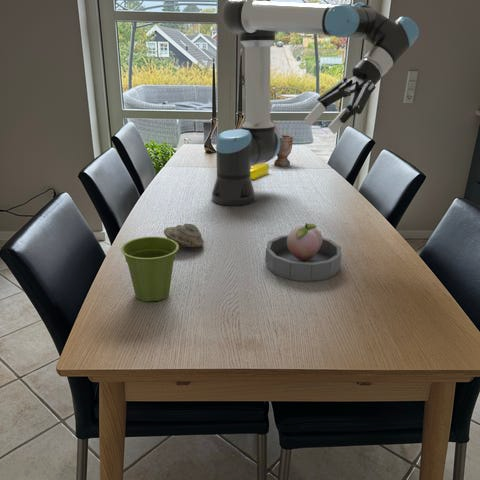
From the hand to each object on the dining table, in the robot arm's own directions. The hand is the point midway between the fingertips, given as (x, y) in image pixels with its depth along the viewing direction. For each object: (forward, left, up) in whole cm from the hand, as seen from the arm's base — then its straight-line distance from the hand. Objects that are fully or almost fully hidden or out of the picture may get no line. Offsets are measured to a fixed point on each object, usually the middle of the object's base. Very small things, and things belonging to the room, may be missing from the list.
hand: (318, 126), depth 129 cm
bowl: (-1, -27, -30) cm, 40 cm away
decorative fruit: (-1, -27, -29) cm, 40 cm away
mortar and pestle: (-18, +76, -30) cm, 84 cm away
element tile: (-30, +57, -30) cm, 71 cm away
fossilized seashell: (-33, -24, -30) cm, 51 cm away
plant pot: (-32, -49, -30) cm, 66 cm away
